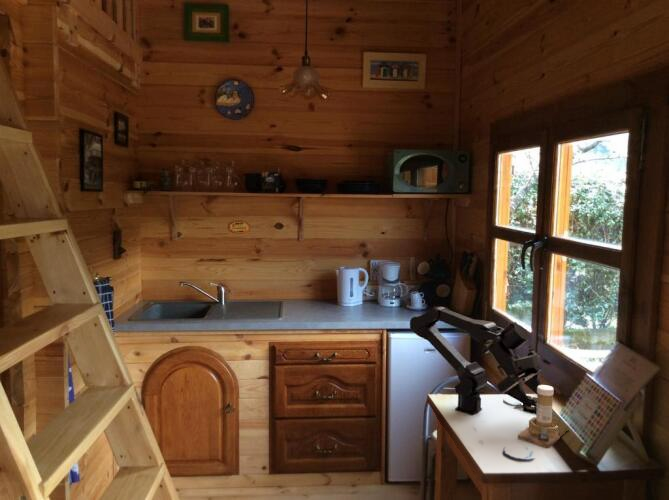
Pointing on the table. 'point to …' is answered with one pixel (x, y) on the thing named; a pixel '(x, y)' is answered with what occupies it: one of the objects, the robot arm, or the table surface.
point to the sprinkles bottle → (544, 405)
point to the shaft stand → (539, 434)
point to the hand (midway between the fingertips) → (537, 402)
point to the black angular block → (528, 409)
